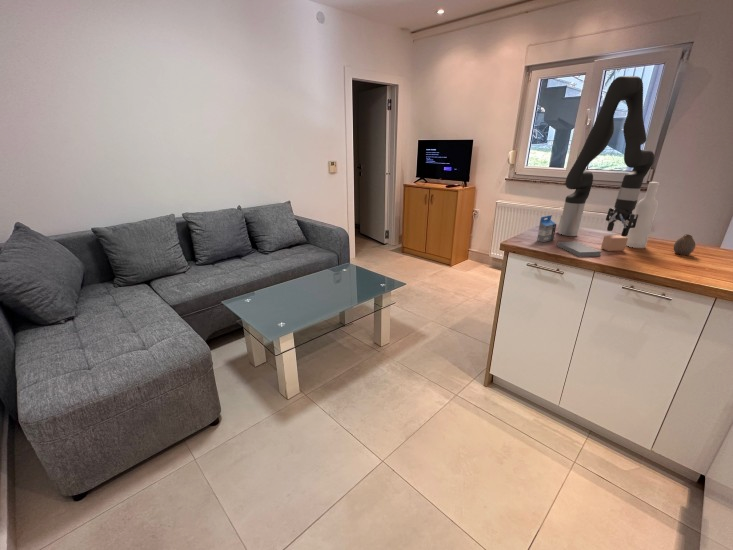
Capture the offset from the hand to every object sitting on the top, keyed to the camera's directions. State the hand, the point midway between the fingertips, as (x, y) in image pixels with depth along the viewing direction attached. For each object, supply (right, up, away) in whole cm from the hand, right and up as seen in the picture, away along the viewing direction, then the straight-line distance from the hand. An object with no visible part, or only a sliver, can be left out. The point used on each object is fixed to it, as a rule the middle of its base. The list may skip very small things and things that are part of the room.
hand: (616, 233), depth 154 cm
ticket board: (-17, -8, +1) cm, 19 cm away
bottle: (+14, -5, +7) cm, 17 cm away
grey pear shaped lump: (+26, -10, -4) cm, 28 cm away
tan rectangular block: (0, -7, +2) cm, 8 cm away
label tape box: (-24, -2, +18) cm, 30 cm away
